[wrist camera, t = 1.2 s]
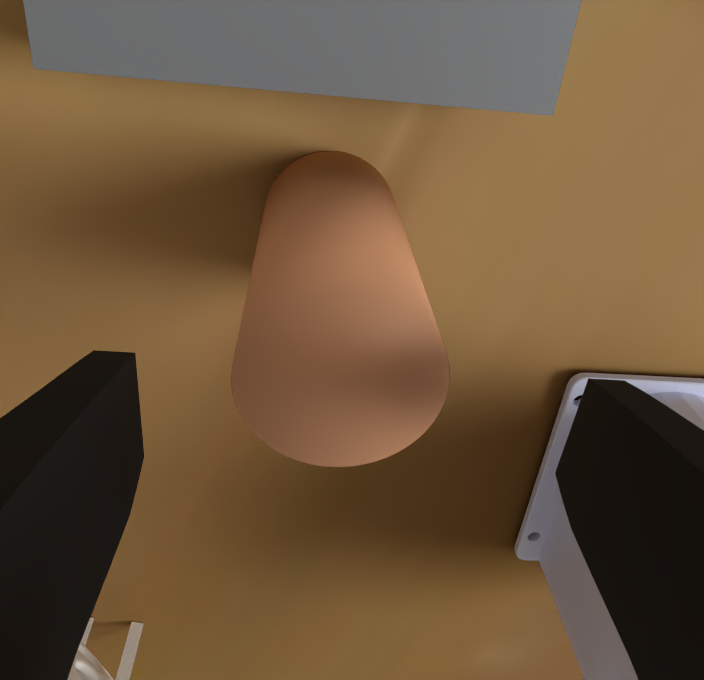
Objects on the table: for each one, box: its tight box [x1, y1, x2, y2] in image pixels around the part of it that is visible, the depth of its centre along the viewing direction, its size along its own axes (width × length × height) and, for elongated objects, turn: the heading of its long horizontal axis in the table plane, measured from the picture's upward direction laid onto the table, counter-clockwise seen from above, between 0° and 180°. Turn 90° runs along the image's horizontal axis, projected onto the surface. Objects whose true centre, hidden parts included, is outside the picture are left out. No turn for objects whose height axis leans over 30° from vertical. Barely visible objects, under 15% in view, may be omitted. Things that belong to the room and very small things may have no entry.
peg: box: [231, 151, 450, 467], centre depth 15 cm, size 4×4×9 cm
